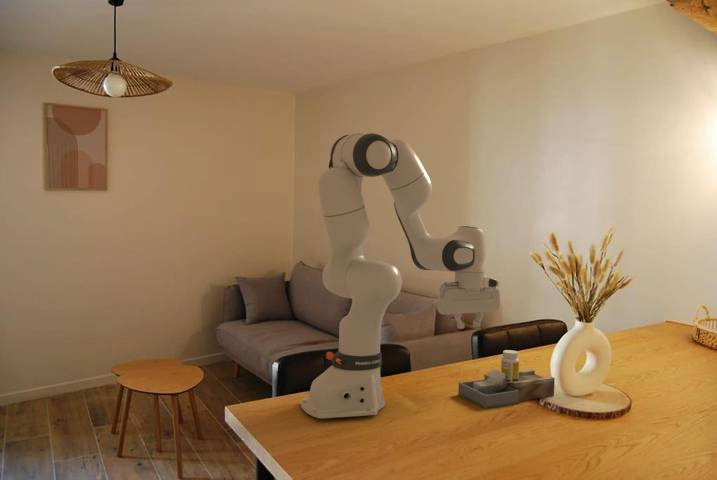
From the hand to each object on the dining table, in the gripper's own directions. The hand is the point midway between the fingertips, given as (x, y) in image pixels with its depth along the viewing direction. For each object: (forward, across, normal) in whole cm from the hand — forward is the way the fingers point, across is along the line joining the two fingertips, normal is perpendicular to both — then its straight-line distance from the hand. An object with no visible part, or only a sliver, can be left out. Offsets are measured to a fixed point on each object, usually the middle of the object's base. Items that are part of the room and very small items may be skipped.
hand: (468, 327), depth 160 cm
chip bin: (+17, -3, -13) cm, 22 cm away
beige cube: (+15, -2, -13) cm, 20 cm away
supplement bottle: (+13, +5, -13) cm, 19 cm away
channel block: (+17, +10, -13) cm, 24 cm away
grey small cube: (+14, 0, -13) cm, 19 cm away
